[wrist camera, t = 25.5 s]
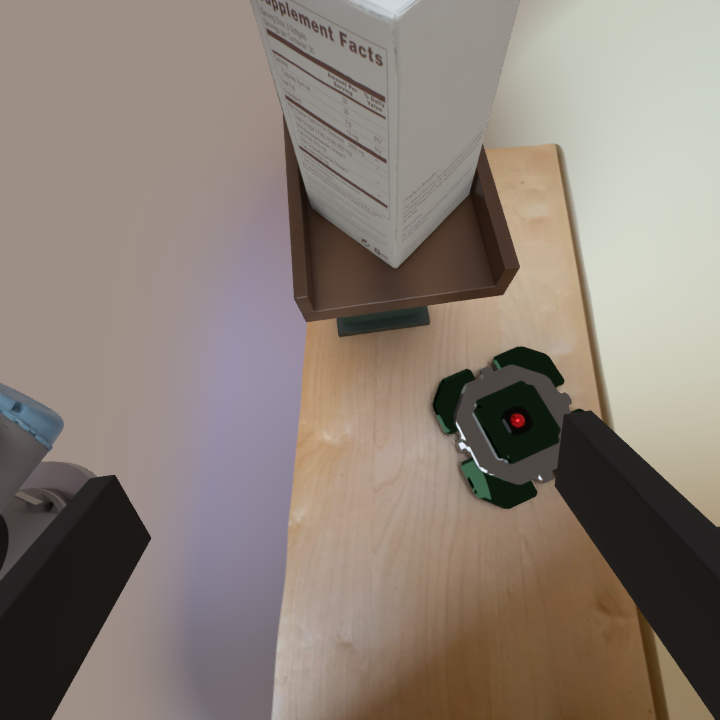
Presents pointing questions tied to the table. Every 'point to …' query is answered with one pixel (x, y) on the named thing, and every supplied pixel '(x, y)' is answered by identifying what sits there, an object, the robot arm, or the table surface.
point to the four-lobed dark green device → (505, 424)
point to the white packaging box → (386, 106)
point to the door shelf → (417, 273)
